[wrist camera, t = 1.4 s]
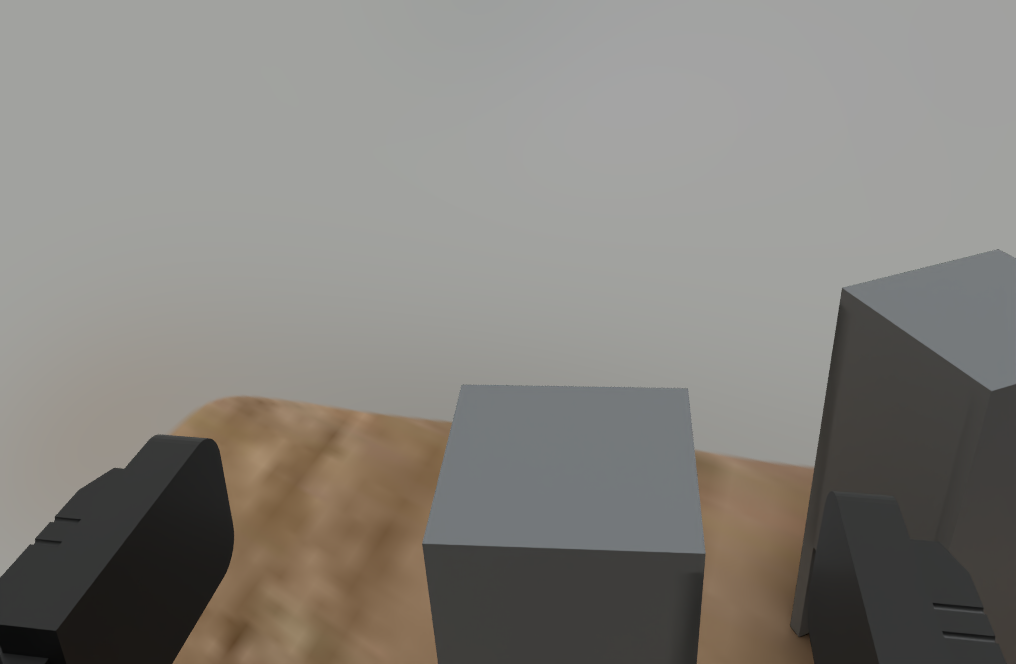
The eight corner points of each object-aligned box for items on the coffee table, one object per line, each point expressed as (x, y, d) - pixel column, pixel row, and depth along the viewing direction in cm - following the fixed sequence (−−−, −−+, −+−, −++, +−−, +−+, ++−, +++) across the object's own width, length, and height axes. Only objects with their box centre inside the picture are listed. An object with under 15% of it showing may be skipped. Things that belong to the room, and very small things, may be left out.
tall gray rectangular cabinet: (916, 581, 41) (998, 249, 32) (1034, 697, 36) (1168, 338, 27) (790, 625, 39) (842, 288, 31) (894, 755, 34) (991, 391, 26)
